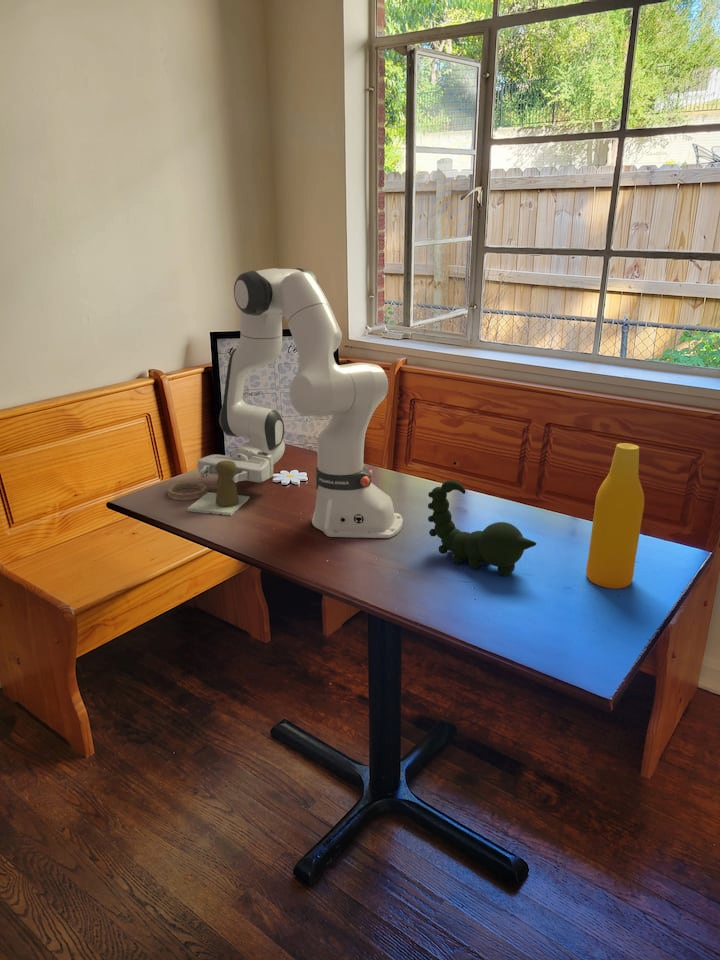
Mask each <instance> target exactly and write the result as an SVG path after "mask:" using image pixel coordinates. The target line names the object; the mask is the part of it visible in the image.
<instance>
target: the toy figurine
mask: <svg viewBox="0 0 720 960" xmlns="http://www.w3.org/2000/svg"><path fill="white" fill-rule="evenodd" d="M452 491H458V492H460V493H462V495H465V494H466V489H465V488H464V485H463V484H462V483H460V482H459V481H457V480H454V479H449V480H446V481H444V482H442V484H441V486H436V487H434V488H433V489H432V490H431V491H429V492H428V497H429V498H431V499H432V501H431V502H429V503H428V505H427V507H428V508H427V509H429V510H432V511H433V512H432V515H429V516H428V517H427V520H428V522H429V523H434V528H431V529H429V531H428V532H429V533H428V534H429V536H430V537H436V536H437V537H438V538H439V539H440V540H441V541H440V543H441V545H439V546H438V553H440V554H441V555H444V554H447V553H448V551H449V552H451V554H452V555H453V557H452V562H453V563H454V564H457V565H460V564H461V563H462V562H463V561H468V564H469V567H470V568H472V569H478V568H480V567H481V565H482V563H485V562H486V563H488V564H489V565H491V566H494V567H497V572H498V573H499V575H501V576H508V575H509V576H510V574H512V573H513V572H514V571H515V568H516V565H515V564H516V563H517V562H519V561H520V559H521V558H522V556H523V554H524V551H526V550H527V549H528V550H529V548H530V549H531V548H533V547H534V546H536V545H537V542H535V541H534V540H531V539H528V538H525V537H524V536H523V534H522V532H521V531H520V530H519V529H518V528H517V527H516V526H515V525H514V524H511V523H509V522H505V521H499V522H494V523H491V524H489V525H487V526H486V527H485V528H484V529H483V530H475V531H472V532H468V531H461V530H460V529H458V528H456V525H455V523H454V522H453V520H452V513H451V511H450V510H449V508H450V501H449V500H448V499H447V497H448V494H449V493H451V492H452Z"/></svg>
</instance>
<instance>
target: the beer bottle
mask: <svg viewBox="0 0 720 960" xmlns="http://www.w3.org/2000/svg"><path fill="white" fill-rule="evenodd" d="M639 463H640V446H639V445H636V444H633V443H627V442H624V443H623V442H622V443H617V444H616V446H615V450H614V452H613V456H612V462H611V464H610V469H609V472H608V474H607V476H606V477H605V479H604V480H603V481H602V483H601V485H600V487H599V488H598V491H597V493H596V497H595V503H594V509H593V510H594V512H593V519H592V527H591V534H590V540H589V541H590V542H589V550H588V556H587V561H586V562H587V563H586V566H585V567H586V571H585V573H586V576H587V579H588V580H589V581H590V582H591V583H593V584H594V585H596V586H599V587H603V588H606V589H612V590H613V589H624V588H627V587H628V586H630V585H631V584H632V581H633V578H634V573H635V565H636V559H637V552H638V547H639V539H640V532H641V529H642V528H641V526H642V521H643V515H644V508H645V494H644V489H643V487H642V483H641V481H640V478H639V477H640V475H639V469H640V467H639V466H640V465H639Z"/></svg>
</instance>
